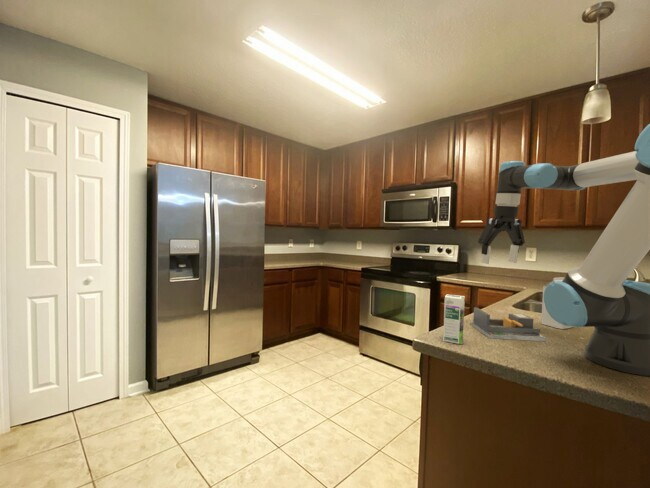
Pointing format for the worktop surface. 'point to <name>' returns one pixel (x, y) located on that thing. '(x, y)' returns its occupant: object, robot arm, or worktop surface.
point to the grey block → (522, 320)
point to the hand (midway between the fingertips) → (498, 262)
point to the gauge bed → (503, 328)
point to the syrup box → (453, 319)
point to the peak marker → (510, 323)
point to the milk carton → (545, 315)
